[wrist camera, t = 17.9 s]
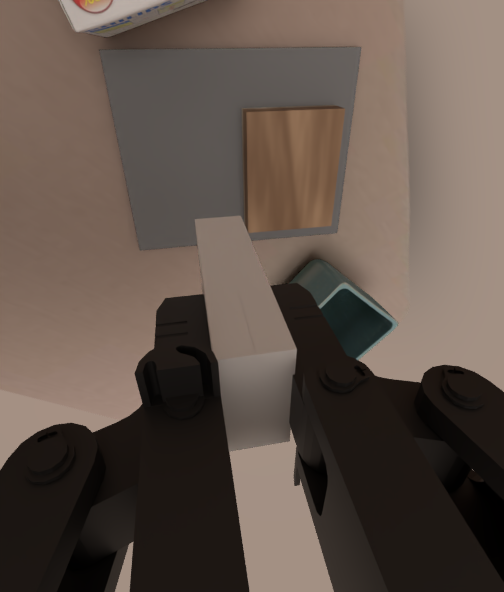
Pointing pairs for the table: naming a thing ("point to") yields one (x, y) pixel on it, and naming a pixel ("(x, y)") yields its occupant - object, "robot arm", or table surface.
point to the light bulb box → (118, 14)
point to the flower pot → (346, 308)
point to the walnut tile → (290, 166)
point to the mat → (211, 127)
